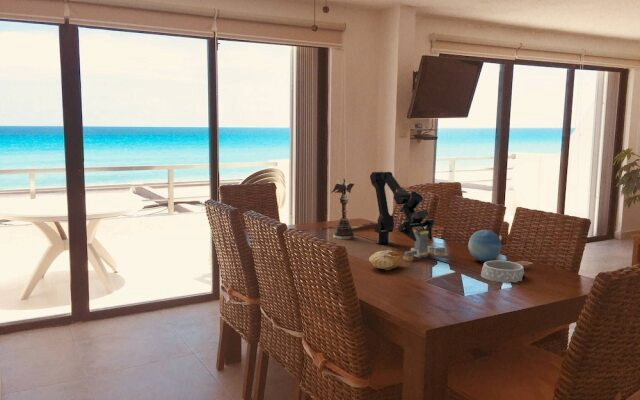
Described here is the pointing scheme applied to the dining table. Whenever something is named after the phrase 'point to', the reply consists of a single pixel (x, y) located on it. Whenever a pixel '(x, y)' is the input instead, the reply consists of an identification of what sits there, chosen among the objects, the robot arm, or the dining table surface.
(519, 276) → the dog bowl
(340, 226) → the bird statue
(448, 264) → the dining table surface
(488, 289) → the dining table surface
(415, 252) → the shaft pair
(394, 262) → the nautilus
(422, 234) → the block
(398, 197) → the robot arm
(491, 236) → the decorative ball
